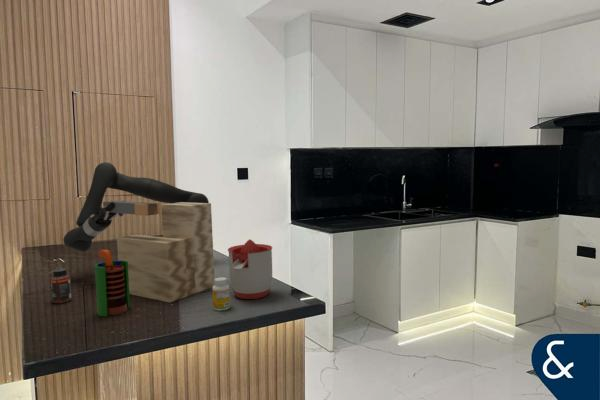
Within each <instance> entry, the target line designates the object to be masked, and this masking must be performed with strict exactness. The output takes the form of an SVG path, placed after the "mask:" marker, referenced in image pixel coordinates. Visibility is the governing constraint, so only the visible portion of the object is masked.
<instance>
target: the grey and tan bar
mask: <svg viewBox="0 0 600 400" xmlns="http://www.w3.org/2000/svg"><path fill="white" fill-rule="evenodd" d="M111 202H114V204H115V207H114V208H113V209H112V210H111V211H109V213H122V214H123V215H124V214H126V215H134V216H144V217H146V216H154V215H161V213H160V210H161V209H160V202H151V201H150V202H149V201H146V202H140V201H125V200H121V201H119V200H109V201H102V203H103V207H102V208H104V207H105V206H107V205H109V204H110V203H111Z"/></svg>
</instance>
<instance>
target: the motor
mask: <svg viewBox="0 0 600 400" xmlns="http://www.w3.org/2000/svg"><path fill="white" fill-rule="evenodd" d="M98 257H99V258H103V259H104V261H101V262H99V263H96V264H94V275H95V276H94V277H95V278H94V279H95V292H96V294H95V295H96V314H97V315H98V316H99V317H106V318H107V317H108V316H115V315H121V314H123V313H125V312H127V311H128V309H129V308H131V304H130V303H131V301H130V294H129V276H128V261H123V260H118V259H117V260H115V259H114V260H113V257H112V254H111V252H110V250H109V249H101V250H99V251H98Z"/></svg>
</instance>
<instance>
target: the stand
mask: <svg viewBox="0 0 600 400" xmlns="http://www.w3.org/2000/svg"><path fill="white" fill-rule="evenodd" d="M160 206H161V208H160V210H161V226H162V227H161V229H162V236H154V235H144V234H143V235H142V234H131V235H125V236H120V237H116V244H117V258H118V259H117V260H123V261H128V276H129V295H132V296H138V297H142V298H147V299H151V300H156V301H160V302H161V301H162V302H165V303H173V302H175V301H178V300H181V299H183V298H186V297H188V296H192V295H196V294H197V293H201V292H204V291H206V290H208V289H212V288H213V286H214V285H215V284H214V279H215V258H214V241H213V240H214V237H213V220H212V219H213V217H212V203H211V202H209V203H189V202H179V203H164V204H160Z"/></svg>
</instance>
